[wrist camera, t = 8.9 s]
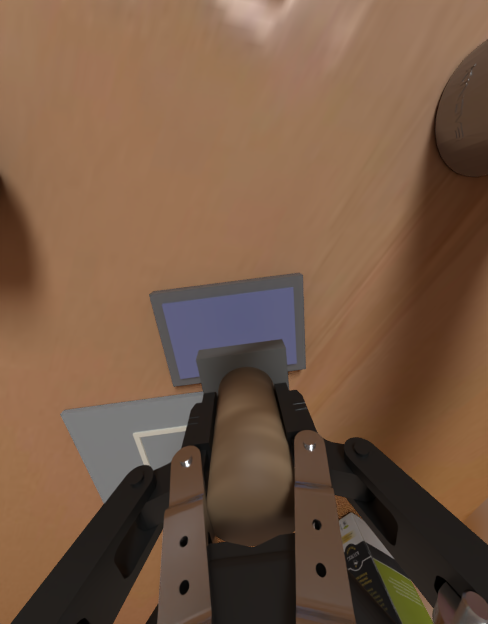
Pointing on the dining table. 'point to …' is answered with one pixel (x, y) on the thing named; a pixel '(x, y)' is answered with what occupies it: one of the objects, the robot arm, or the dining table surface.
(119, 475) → the board
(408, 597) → the tea box
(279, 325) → the ink pad
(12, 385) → the dining table surface
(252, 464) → the stamp
